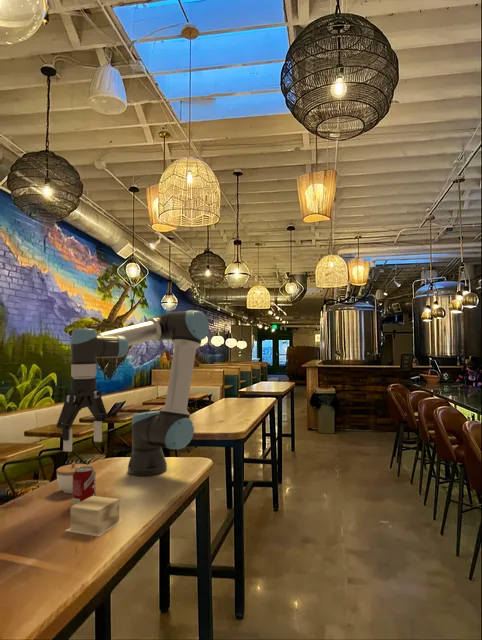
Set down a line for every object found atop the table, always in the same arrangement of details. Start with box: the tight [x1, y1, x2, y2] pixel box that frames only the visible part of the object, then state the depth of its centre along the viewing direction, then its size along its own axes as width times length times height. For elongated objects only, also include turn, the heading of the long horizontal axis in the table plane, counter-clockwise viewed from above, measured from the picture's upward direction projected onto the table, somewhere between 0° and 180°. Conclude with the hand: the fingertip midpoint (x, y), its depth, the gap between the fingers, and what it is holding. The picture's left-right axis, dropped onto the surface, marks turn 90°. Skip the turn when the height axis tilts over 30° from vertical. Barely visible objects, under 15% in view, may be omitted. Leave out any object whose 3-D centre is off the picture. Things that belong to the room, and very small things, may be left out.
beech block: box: [69, 495, 120, 534], centre depth 121 cm, size 9×9×6 cm
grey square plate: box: [64, 518, 125, 537], centre depth 122 cm, size 14×14×1 cm
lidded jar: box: [56, 462, 90, 494], centre depth 154 cm, size 11×11×9 cm
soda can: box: [72, 465, 97, 506], centre depth 137 cm, size 7×7×12 cm
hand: (83, 446), depth 138 cm, fingers open, 13 cm apart
